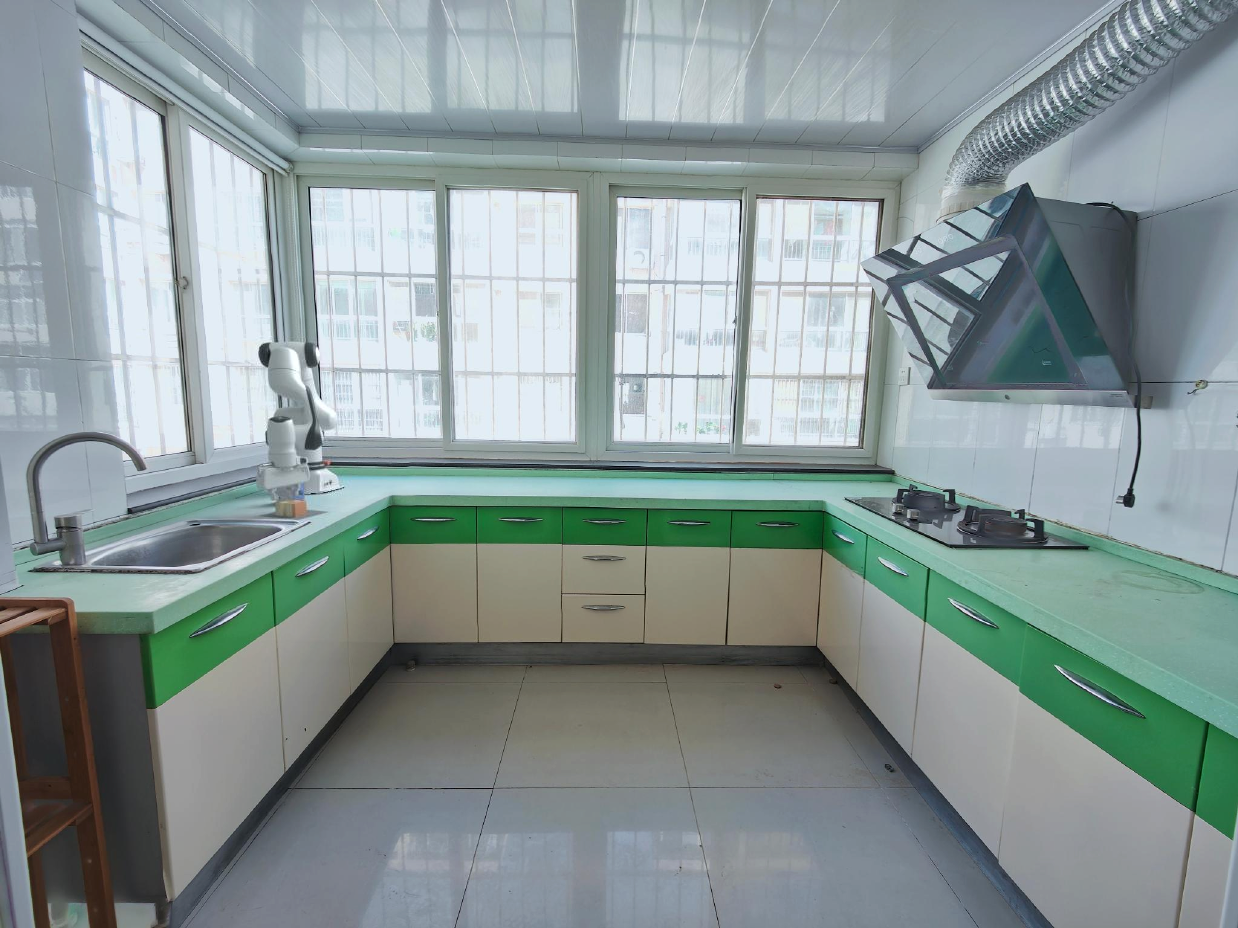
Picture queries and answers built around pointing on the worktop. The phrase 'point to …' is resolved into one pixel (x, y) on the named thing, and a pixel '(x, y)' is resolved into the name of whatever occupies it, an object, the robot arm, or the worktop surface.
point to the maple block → (290, 508)
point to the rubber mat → (309, 514)
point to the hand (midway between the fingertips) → (285, 497)
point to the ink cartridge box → (290, 493)
